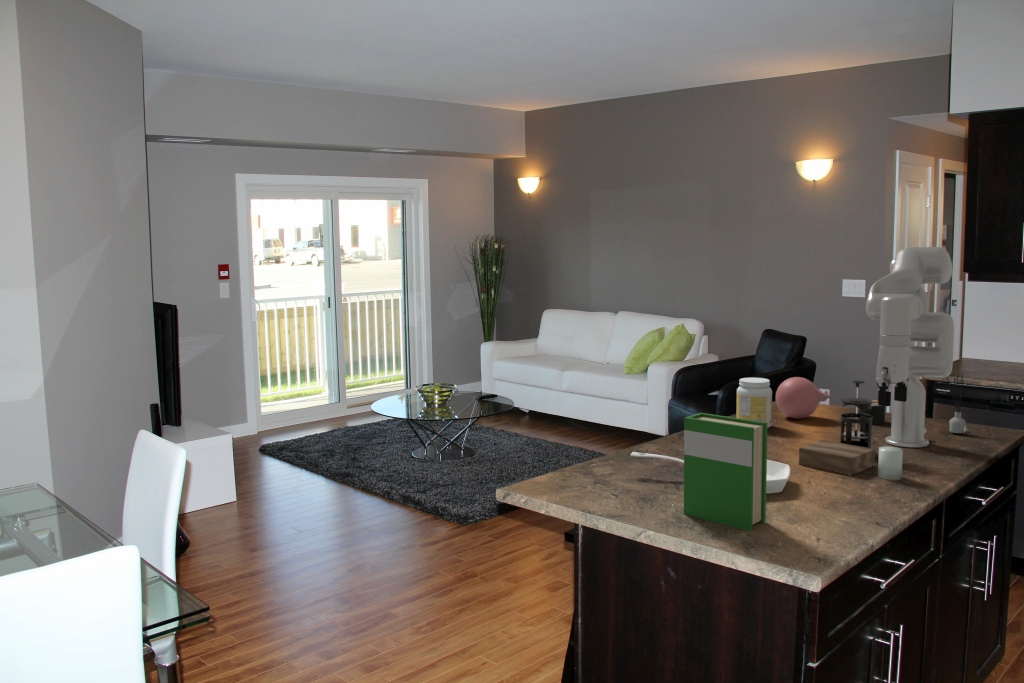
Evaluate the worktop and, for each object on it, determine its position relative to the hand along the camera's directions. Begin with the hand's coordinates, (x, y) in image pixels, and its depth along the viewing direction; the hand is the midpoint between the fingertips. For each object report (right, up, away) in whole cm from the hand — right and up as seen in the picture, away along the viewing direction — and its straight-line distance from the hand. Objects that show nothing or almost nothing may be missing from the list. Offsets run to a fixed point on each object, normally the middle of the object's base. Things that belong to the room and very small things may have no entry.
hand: (892, 403), depth 221 cm
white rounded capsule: (+1, -21, +3) cm, 21 cm away
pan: (-50, -22, +3) cm, 55 cm away
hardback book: (-54, -26, -28) cm, 65 cm away
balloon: (+3, -12, +77) cm, 78 cm away
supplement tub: (-18, -14, +67) cm, 71 cm away
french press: (+2, -18, +27) cm, 33 cm away
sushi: (+25, -12, +70) cm, 75 cm away
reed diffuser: (+45, -14, +51) cm, 70 cm away
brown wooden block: (-9, -19, +16) cm, 26 cm away
